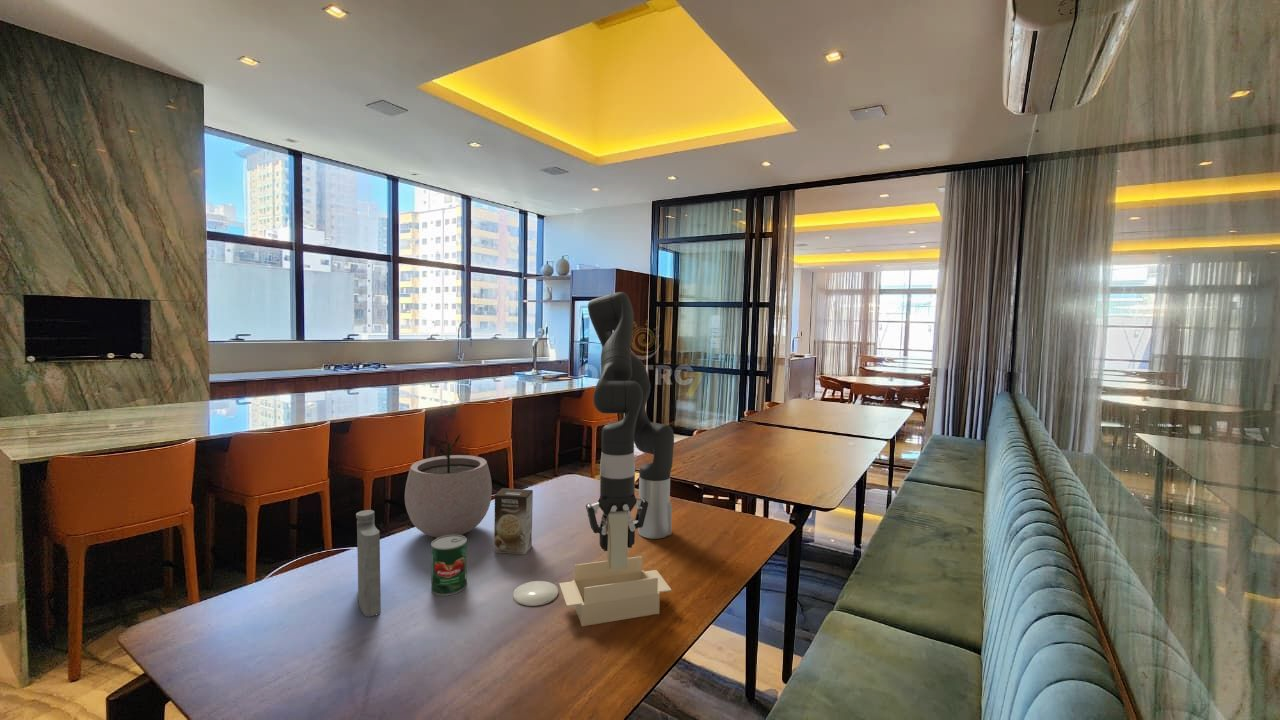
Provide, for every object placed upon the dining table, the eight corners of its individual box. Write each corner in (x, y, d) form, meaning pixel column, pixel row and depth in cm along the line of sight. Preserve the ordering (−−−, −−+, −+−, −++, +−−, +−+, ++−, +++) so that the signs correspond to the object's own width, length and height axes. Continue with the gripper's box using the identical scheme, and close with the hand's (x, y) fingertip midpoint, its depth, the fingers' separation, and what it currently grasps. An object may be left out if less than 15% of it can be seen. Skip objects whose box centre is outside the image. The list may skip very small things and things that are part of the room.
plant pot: (385, 541, 146) (384, 436, 144) (446, 513, 168) (446, 422, 166) (453, 557, 137) (453, 445, 135) (508, 525, 160) (508, 429, 158)
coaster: (554, 581, 125) (554, 578, 125) (561, 602, 116) (561, 599, 116) (511, 586, 122) (511, 584, 122) (515, 608, 113) (515, 606, 113)
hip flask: (381, 614, 110) (380, 522, 109) (359, 619, 108) (358, 525, 106) (374, 582, 123) (373, 499, 122) (355, 586, 121) (354, 502, 120)
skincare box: (606, 556, 117) (606, 504, 116) (626, 556, 118) (626, 503, 117) (607, 570, 111) (607, 514, 110) (628, 569, 111) (628, 514, 110)
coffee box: (492, 553, 140) (492, 494, 139) (501, 543, 147) (501, 487, 145) (525, 555, 139) (526, 496, 138) (533, 545, 146) (533, 489, 145)
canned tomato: (441, 599, 116) (440, 551, 116) (425, 587, 122) (424, 541, 121) (473, 586, 122) (473, 541, 121) (456, 575, 127) (456, 531, 127)
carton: (655, 587, 124) (655, 554, 123) (672, 611, 113) (673, 575, 113) (558, 601, 116) (558, 566, 116) (567, 628, 106) (567, 590, 105)
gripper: (643, 464, 119) (642, 537, 120) (581, 469, 114) (581, 545, 115) (654, 474, 111) (653, 551, 113) (589, 480, 107) (588, 560, 108)
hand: (616, 547), depth 114 cm, fingers closed on skincare box, 5 cm apart
